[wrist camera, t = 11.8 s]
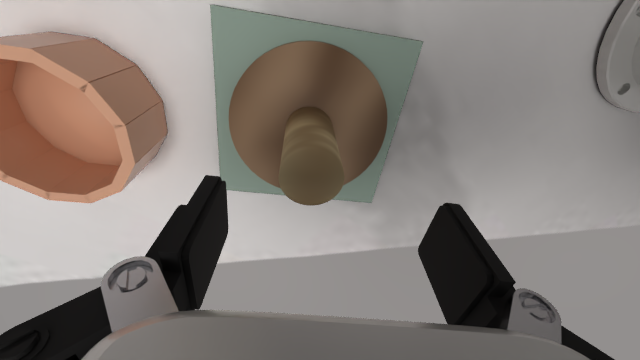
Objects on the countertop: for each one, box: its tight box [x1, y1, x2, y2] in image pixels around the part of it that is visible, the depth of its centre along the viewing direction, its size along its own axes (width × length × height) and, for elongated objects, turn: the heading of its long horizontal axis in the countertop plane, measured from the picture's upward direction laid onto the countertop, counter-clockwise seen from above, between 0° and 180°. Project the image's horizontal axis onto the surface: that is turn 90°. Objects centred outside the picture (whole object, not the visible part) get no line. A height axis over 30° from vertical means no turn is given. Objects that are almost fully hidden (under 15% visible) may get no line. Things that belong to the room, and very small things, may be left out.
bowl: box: [0, 32, 168, 203], centre depth 18 cm, size 10×10×5 cm
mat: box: [210, 5, 423, 203], centre depth 21 cm, size 14×14×1 cm
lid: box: [229, 41, 387, 205], centre depth 18 cm, size 12×12×8 cm
